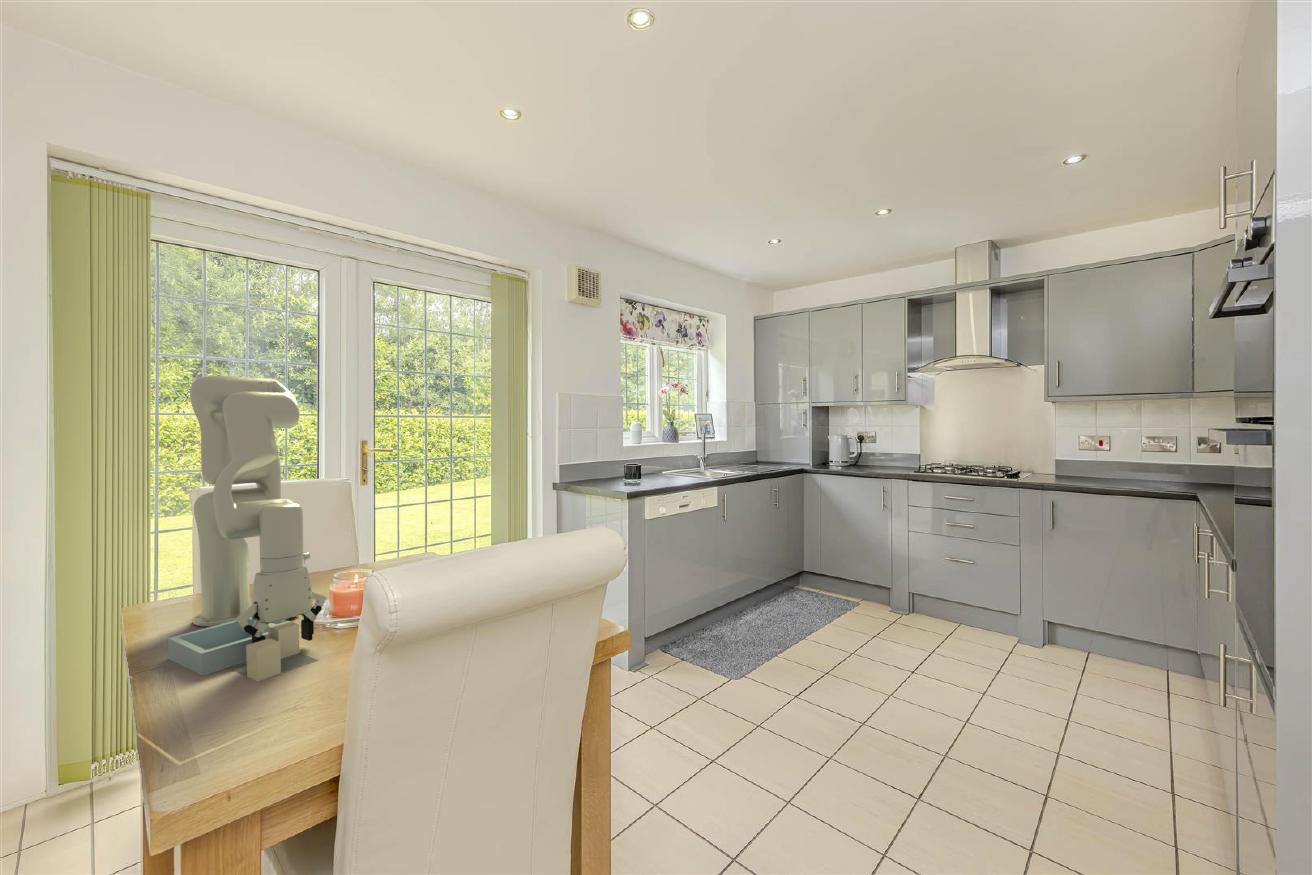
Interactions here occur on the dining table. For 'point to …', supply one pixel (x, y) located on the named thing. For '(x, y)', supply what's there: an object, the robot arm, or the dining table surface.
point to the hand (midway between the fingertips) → (284, 646)
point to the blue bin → (212, 647)
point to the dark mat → (286, 663)
